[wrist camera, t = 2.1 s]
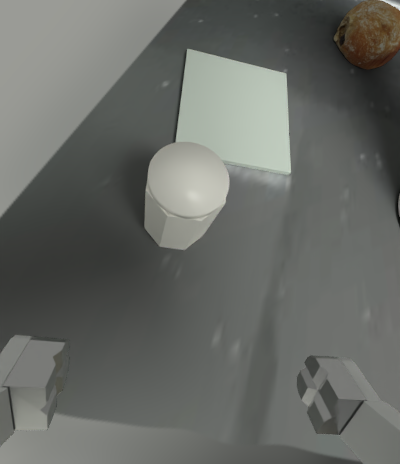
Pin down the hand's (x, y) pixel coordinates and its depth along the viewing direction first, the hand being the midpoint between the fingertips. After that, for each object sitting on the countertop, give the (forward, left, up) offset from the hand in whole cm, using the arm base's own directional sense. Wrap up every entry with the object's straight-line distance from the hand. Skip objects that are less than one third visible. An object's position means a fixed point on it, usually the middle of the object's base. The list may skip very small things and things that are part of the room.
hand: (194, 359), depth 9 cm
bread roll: (-27, -46, -17) cm, 56 cm away
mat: (-6, -27, -16) cm, 32 cm away
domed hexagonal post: (0, -11, -16) cm, 20 cm away
